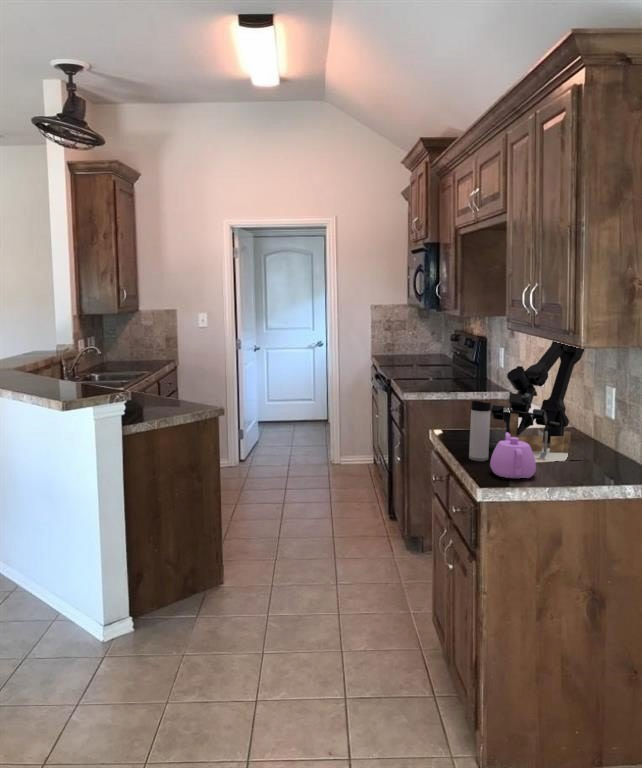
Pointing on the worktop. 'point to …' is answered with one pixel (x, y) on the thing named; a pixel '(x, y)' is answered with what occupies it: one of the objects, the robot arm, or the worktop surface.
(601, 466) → the worktop surface
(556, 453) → the card
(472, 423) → the travel mug
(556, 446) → the base
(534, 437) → the gate
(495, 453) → the teapot
